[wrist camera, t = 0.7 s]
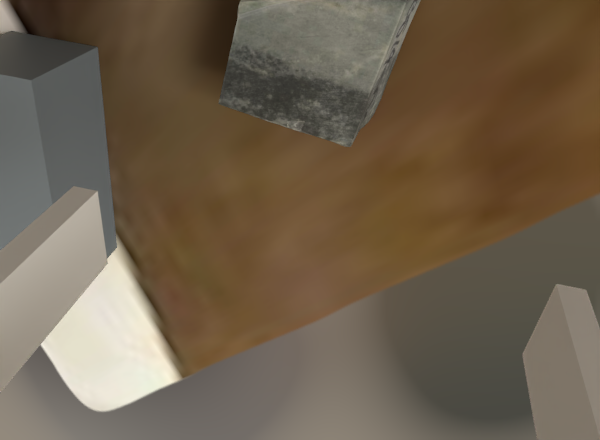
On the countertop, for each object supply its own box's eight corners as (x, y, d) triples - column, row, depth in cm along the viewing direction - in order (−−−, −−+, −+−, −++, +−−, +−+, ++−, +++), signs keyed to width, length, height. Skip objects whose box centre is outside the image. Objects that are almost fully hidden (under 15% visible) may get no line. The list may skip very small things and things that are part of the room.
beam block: (13, 30, 35) (-70, 60, 29) (99, 46, 34) (31, 80, 29) (49, 230, 44) (-9, 283, 38) (118, 245, 43) (69, 302, 38)
